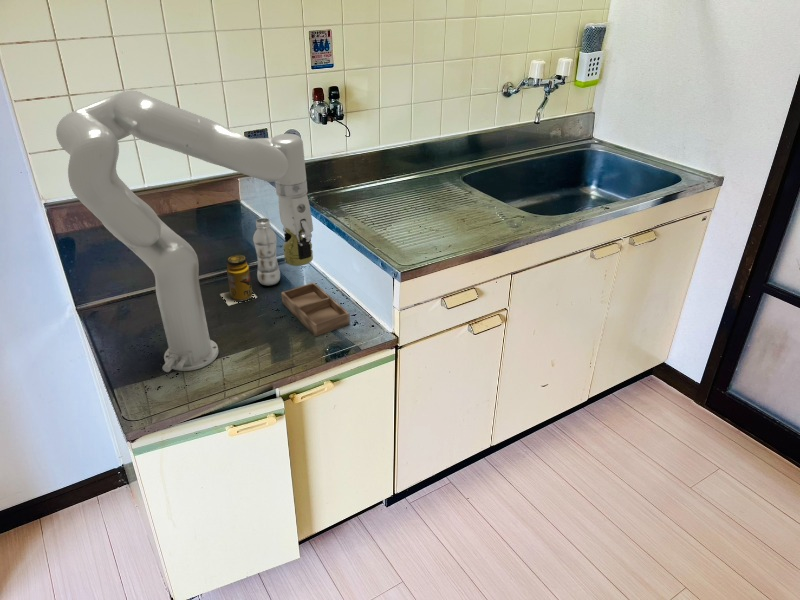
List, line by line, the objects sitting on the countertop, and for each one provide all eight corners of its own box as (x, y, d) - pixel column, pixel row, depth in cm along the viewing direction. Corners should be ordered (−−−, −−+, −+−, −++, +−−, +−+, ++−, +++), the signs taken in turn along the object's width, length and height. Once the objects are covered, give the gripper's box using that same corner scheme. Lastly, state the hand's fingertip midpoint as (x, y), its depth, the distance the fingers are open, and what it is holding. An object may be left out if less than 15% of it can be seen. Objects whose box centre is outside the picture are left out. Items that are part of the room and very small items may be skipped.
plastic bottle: (260, 277, 181) (252, 216, 170) (282, 277, 181) (276, 215, 170) (256, 288, 175) (248, 225, 165) (279, 288, 175) (273, 225, 165)
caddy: (349, 324, 159) (349, 313, 157) (315, 336, 154) (314, 325, 152) (314, 293, 173) (314, 282, 171) (282, 303, 168) (281, 292, 166)
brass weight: (313, 252, 160) (310, 217, 154) (313, 265, 153) (310, 230, 148) (285, 254, 159) (281, 219, 154) (284, 267, 153) (280, 231, 147)
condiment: (257, 297, 171) (252, 260, 164) (228, 306, 167) (222, 268, 160) (248, 287, 176) (243, 250, 170) (219, 295, 172) (213, 257, 166)
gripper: (321, 194, 141) (326, 261, 151) (290, 173, 154) (297, 236, 163) (292, 201, 138) (299, 269, 147) (263, 179, 150) (271, 243, 159)
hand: (298, 251), depth 155 cm, fingers closed on brass weight, 7 cm apart
